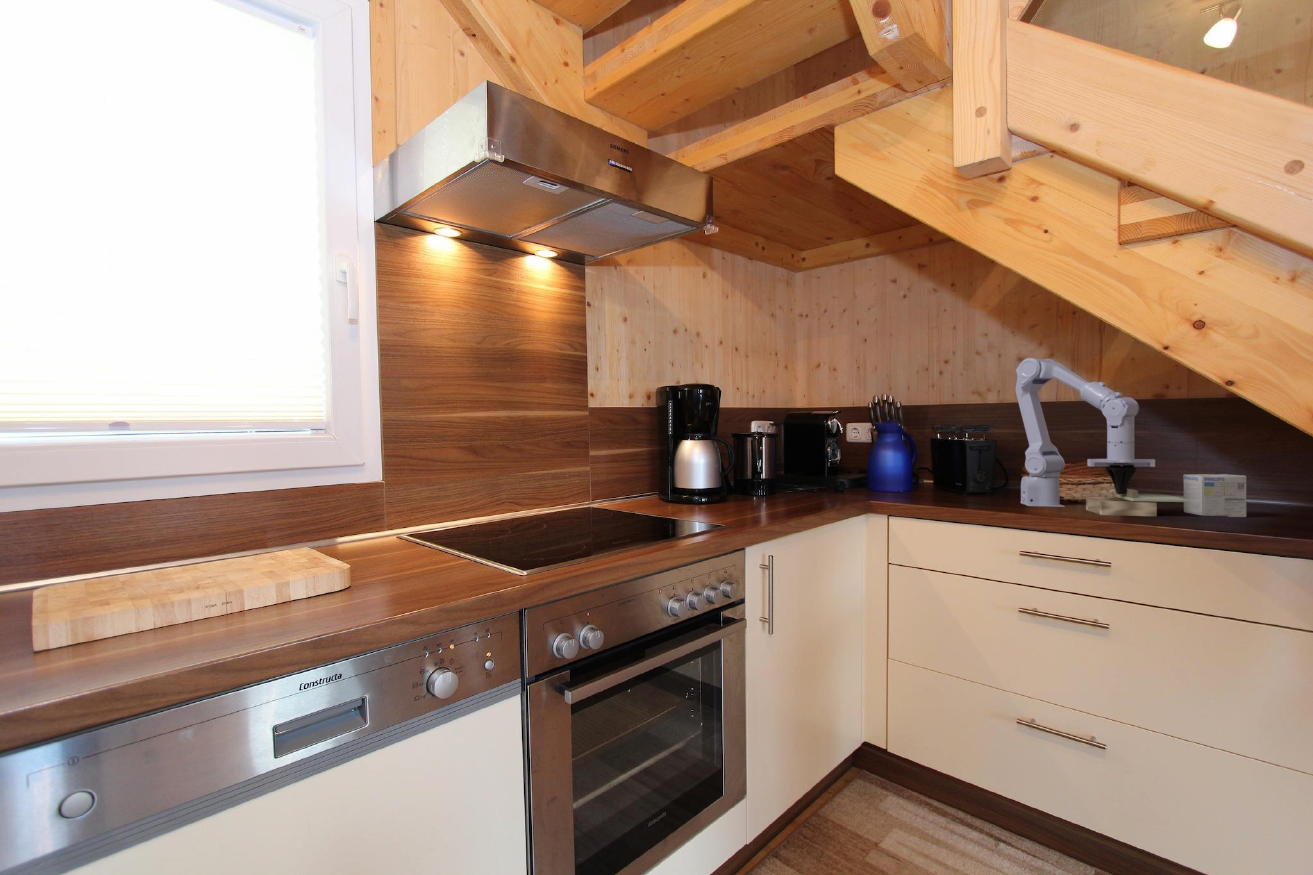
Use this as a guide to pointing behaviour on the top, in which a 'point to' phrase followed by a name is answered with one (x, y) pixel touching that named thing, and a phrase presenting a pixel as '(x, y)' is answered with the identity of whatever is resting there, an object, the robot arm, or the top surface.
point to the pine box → (1120, 506)
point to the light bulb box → (1215, 494)
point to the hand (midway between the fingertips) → (1120, 493)
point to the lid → (1148, 497)
